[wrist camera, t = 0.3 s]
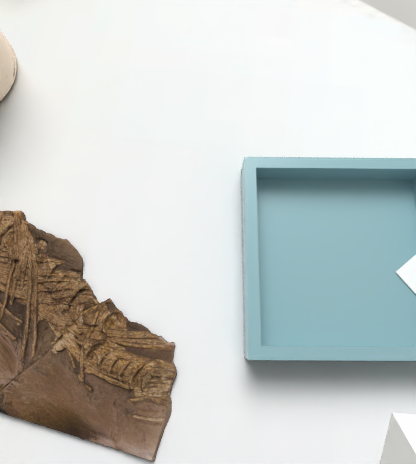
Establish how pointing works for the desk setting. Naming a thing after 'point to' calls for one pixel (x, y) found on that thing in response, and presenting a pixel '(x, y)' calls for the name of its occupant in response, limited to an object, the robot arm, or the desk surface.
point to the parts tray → (328, 258)
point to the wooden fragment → (75, 349)
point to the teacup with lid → (6, 66)
